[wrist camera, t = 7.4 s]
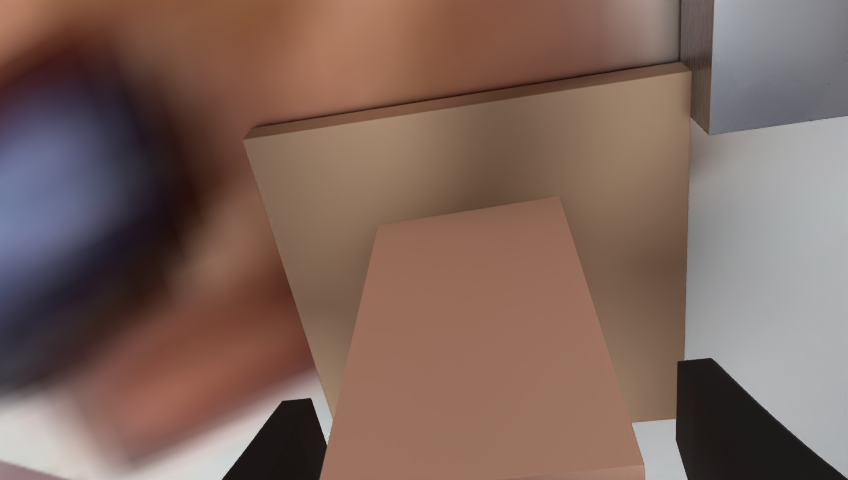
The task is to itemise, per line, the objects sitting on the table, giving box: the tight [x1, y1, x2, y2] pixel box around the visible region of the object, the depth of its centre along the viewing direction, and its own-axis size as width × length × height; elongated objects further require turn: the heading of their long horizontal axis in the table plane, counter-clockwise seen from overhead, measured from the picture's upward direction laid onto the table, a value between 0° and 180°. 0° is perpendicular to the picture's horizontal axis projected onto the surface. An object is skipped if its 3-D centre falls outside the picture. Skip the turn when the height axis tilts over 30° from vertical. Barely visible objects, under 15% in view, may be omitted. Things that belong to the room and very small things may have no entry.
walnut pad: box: [243, 62, 692, 423], centre depth 17 cm, size 10×10×1 cm
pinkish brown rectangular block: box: [320, 196, 645, 480], centre depth 13 cm, size 4×4×8 cm
